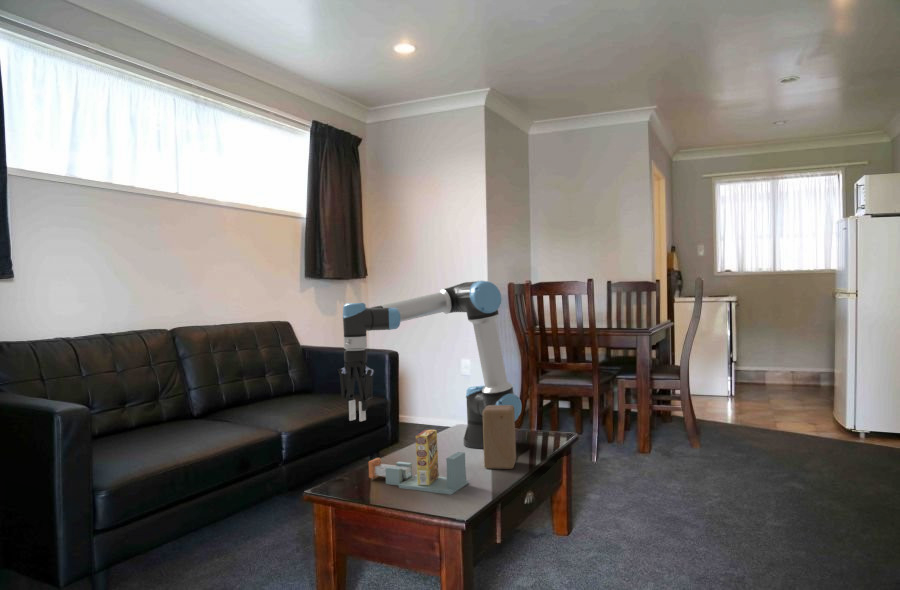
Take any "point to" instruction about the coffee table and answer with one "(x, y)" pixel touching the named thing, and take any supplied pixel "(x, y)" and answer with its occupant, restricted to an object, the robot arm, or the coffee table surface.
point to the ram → (379, 469)
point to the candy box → (427, 457)
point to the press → (440, 485)
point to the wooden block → (499, 437)
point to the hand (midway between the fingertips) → (357, 420)
